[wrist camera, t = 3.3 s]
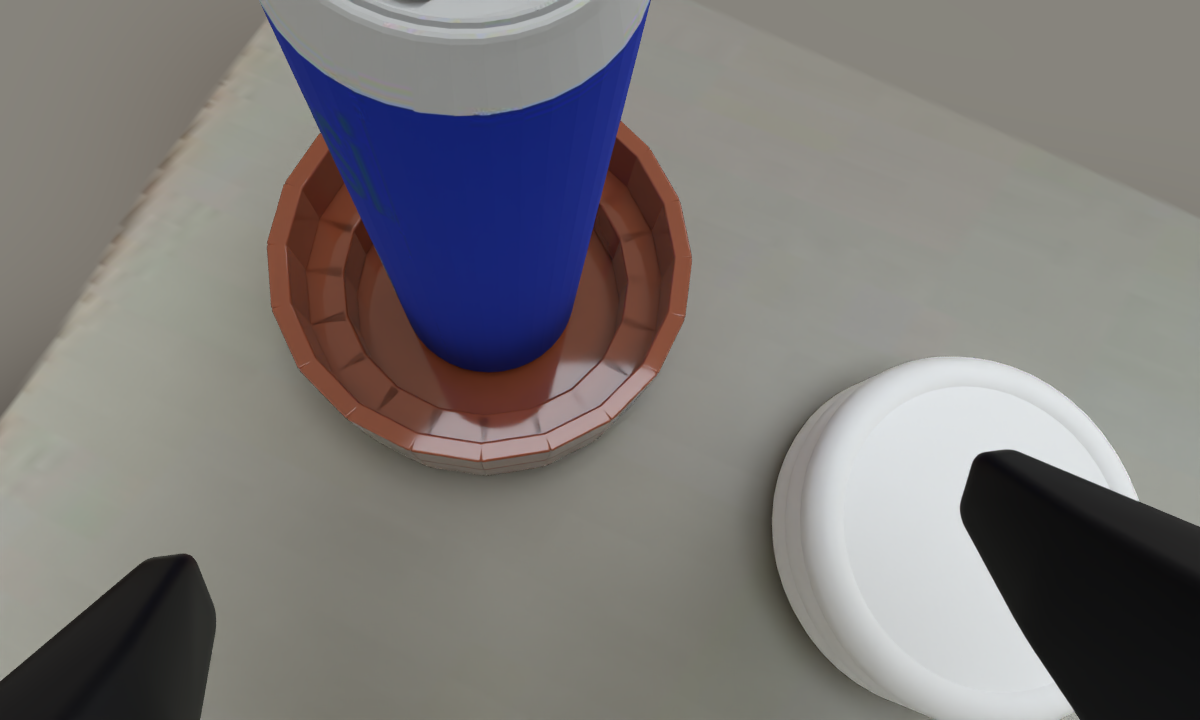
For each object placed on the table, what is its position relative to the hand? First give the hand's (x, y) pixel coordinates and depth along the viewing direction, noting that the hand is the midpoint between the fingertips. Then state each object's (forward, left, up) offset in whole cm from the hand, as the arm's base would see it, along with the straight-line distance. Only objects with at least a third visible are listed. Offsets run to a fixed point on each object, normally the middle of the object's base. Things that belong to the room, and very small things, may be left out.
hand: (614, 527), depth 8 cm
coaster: (+10, -5, -14) cm, 18 cm away
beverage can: (+2, +7, -14) cm, 16 cm away
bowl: (+2, +7, -14) cm, 16 cm away
